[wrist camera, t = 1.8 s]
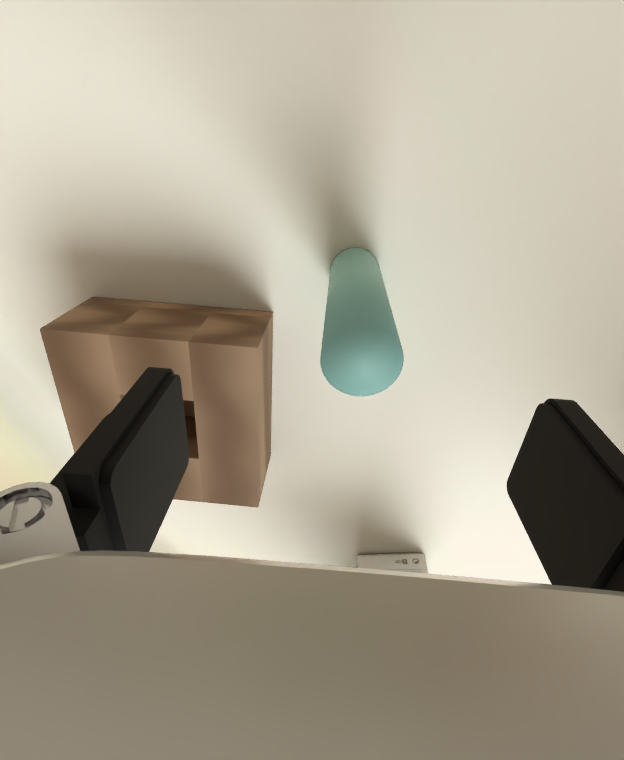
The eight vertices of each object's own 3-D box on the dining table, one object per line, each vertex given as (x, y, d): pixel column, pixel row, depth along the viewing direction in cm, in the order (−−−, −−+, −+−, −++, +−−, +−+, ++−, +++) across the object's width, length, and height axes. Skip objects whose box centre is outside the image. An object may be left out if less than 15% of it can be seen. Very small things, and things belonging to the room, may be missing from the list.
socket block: (273, 312, 27) (257, 348, 22) (270, 454, 33) (258, 507, 28) (92, 296, 28) (39, 329, 23) (122, 441, 34) (85, 490, 29)
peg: (382, 249, 25) (410, 326, 14) (375, 298, 26) (396, 399, 16) (332, 245, 25) (323, 318, 14) (328, 294, 26) (317, 392, 16)
